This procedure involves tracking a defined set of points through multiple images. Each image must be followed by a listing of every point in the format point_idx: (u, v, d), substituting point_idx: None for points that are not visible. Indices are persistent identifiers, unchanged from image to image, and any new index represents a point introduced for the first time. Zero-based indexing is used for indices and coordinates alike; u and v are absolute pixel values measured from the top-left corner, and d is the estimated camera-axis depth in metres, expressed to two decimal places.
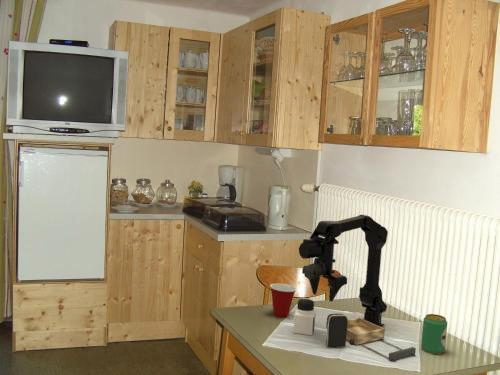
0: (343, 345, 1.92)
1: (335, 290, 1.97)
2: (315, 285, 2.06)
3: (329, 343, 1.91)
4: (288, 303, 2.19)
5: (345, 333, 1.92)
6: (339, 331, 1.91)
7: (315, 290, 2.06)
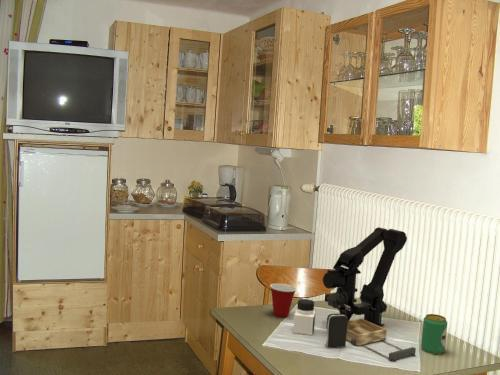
0: (343, 345, 1.92)
1: (349, 315, 2.08)
2: None
3: (329, 343, 1.91)
4: (288, 303, 2.19)
5: (345, 333, 1.92)
6: (339, 331, 1.91)
7: None
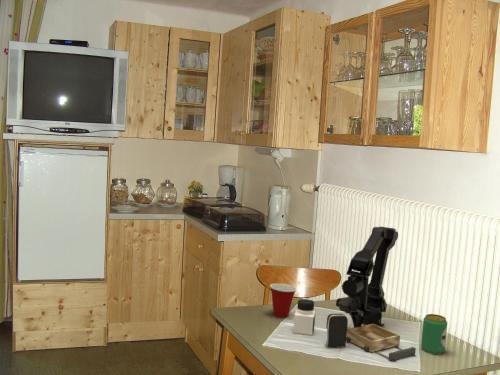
0: (343, 345, 1.92)
1: (361, 320, 2.03)
2: None
3: (329, 343, 1.91)
4: (288, 303, 2.19)
5: (345, 333, 1.92)
6: (339, 331, 1.91)
7: (357, 326, 2.04)
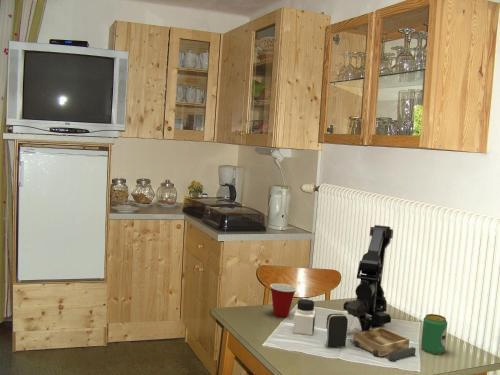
0: (343, 345, 1.92)
1: (369, 324, 2.00)
2: None
3: (329, 343, 1.91)
4: (288, 303, 2.19)
5: (345, 333, 1.92)
6: (339, 331, 1.91)
7: None
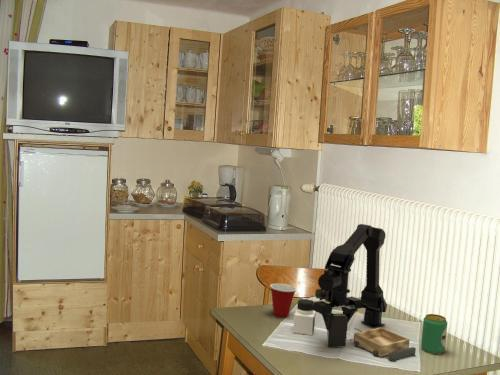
0: (343, 345, 1.92)
1: (327, 319, 1.89)
2: None
3: (329, 343, 1.91)
4: (288, 303, 2.19)
5: (345, 333, 1.92)
6: (339, 331, 1.91)
7: None
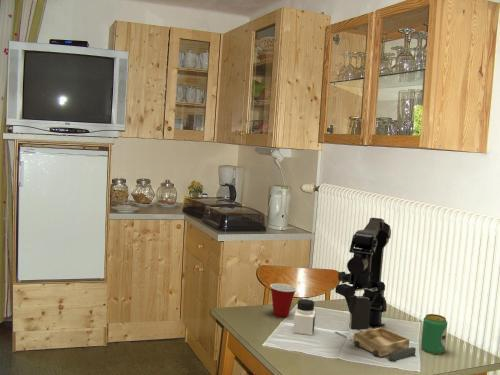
0: (366, 327, 1.93)
1: (350, 301, 1.90)
2: None
3: (352, 325, 1.91)
4: (288, 303, 2.19)
5: (368, 315, 1.92)
6: (362, 313, 1.91)
7: None
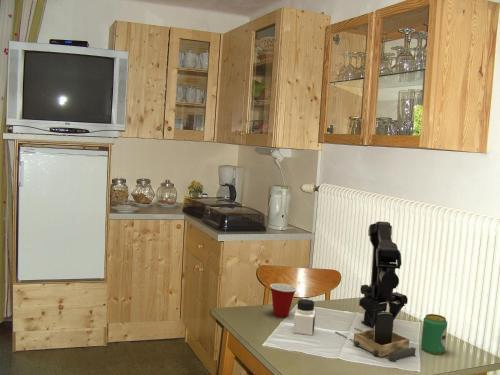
0: (389, 343, 1.94)
1: (372, 315, 1.90)
2: (392, 313, 1.96)
3: (376, 341, 1.92)
4: (288, 303, 2.19)
5: (391, 331, 1.93)
6: (385, 329, 1.93)
7: None
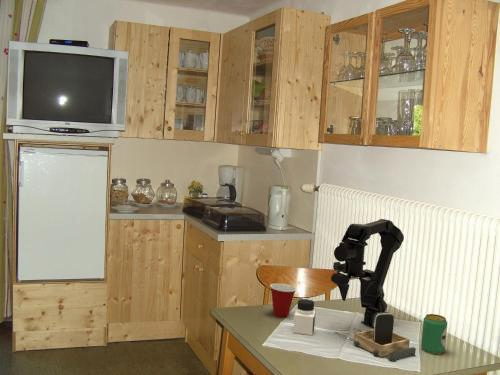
0: (389, 343, 1.94)
1: (343, 290, 2.02)
2: (363, 288, 2.08)
3: (376, 341, 1.92)
4: (288, 303, 2.19)
5: (391, 331, 1.93)
6: (385, 329, 1.93)
7: (361, 293, 2.08)
